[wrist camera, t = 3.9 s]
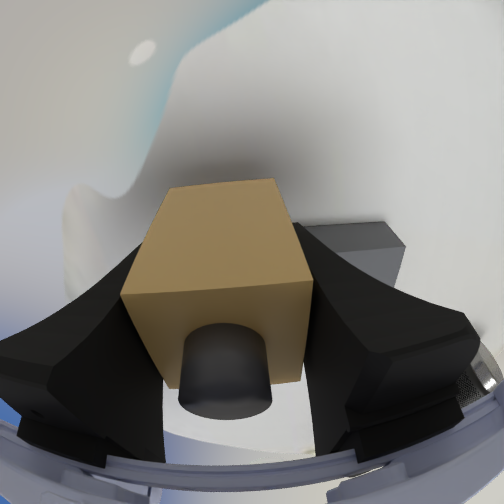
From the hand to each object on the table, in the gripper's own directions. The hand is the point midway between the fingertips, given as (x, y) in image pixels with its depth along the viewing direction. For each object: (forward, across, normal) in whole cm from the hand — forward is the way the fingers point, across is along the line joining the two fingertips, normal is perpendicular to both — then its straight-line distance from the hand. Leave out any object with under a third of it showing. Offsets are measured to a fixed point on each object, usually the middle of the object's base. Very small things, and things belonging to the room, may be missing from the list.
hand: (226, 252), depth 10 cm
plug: (+2, 0, 0) cm, 2 cm away
